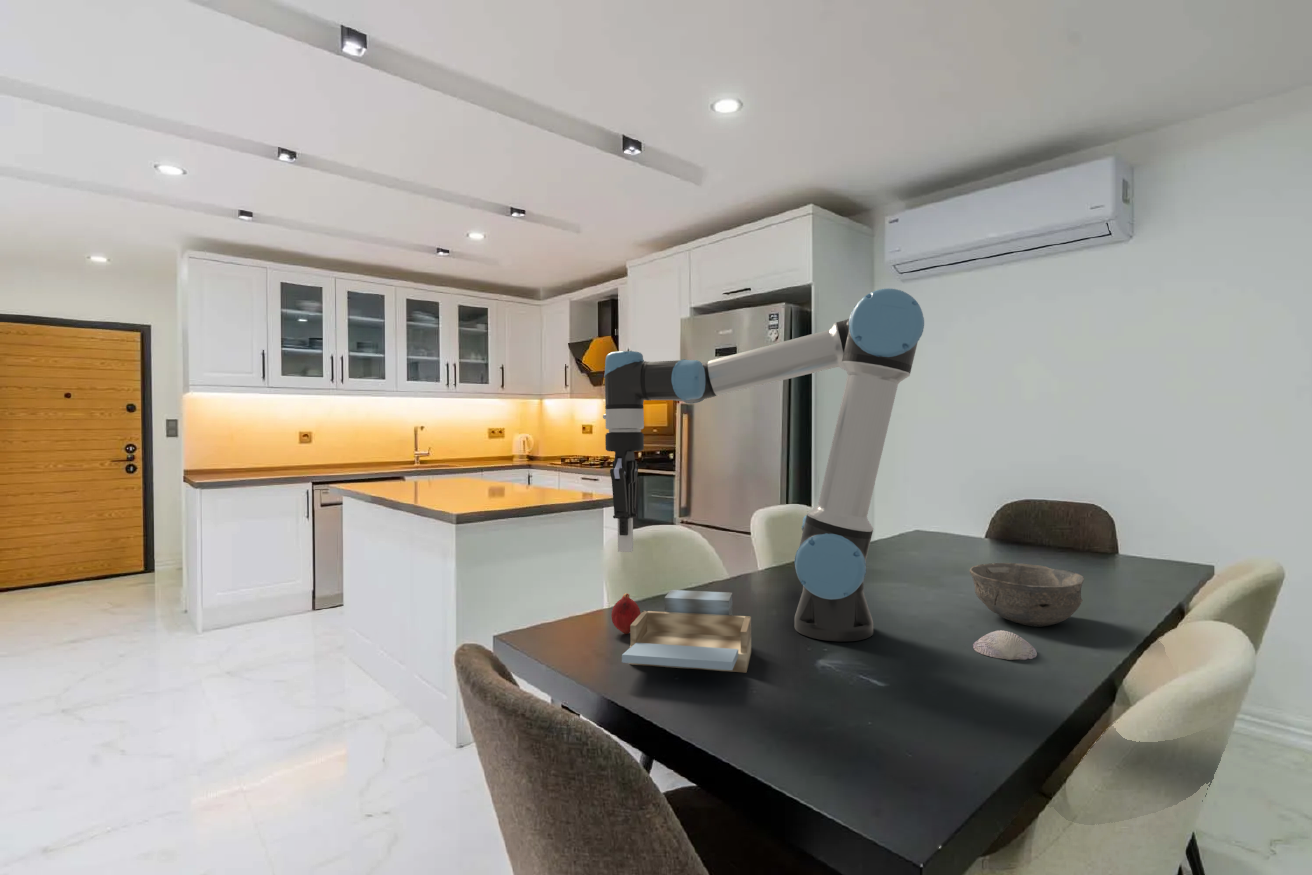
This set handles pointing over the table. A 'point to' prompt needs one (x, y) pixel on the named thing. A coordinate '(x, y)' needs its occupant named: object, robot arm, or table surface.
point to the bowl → (1028, 592)
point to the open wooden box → (696, 625)
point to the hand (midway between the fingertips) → (625, 550)
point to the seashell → (1004, 646)
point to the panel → (681, 656)
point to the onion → (625, 613)
